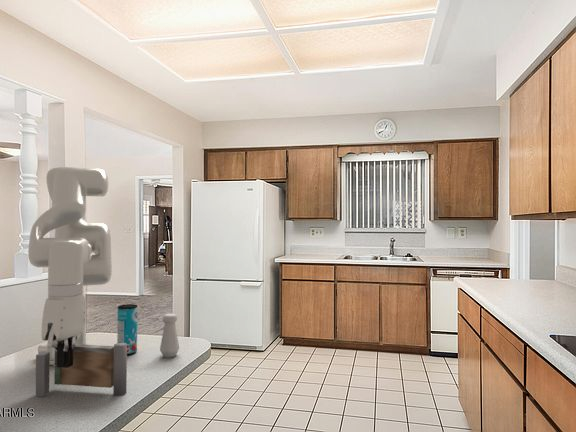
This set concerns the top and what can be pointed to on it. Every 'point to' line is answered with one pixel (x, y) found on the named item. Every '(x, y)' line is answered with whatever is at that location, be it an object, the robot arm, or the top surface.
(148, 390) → the top surface
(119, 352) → the hinge post
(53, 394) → the top surface
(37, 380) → the post
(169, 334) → the salt shaker
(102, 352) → the gate
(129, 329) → the beverage can
